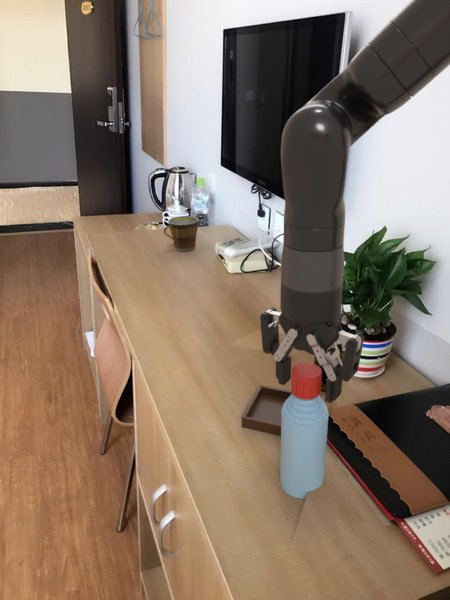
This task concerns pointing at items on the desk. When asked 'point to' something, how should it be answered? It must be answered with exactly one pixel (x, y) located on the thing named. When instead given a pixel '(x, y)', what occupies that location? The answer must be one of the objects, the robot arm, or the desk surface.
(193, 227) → the ceramic cup
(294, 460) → the water bottle
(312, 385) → the bottle cap
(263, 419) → the tray
